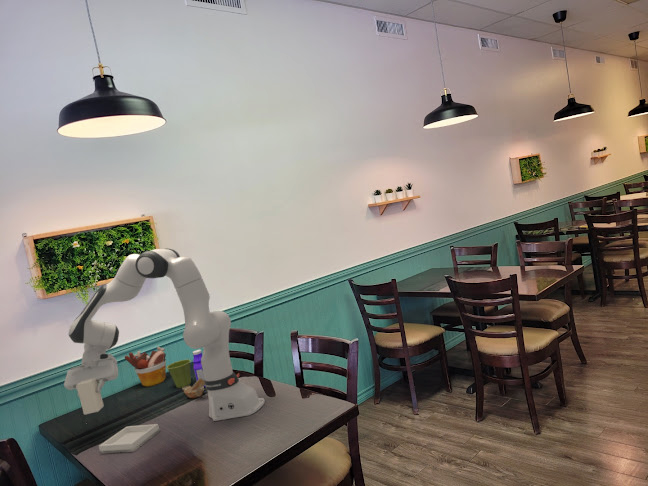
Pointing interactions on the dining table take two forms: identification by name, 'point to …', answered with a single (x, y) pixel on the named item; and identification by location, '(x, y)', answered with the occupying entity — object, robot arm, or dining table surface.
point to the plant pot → (180, 373)
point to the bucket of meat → (149, 366)
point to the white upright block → (89, 396)
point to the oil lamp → (195, 389)
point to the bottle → (198, 365)
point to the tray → (129, 439)
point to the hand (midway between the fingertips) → (89, 393)
